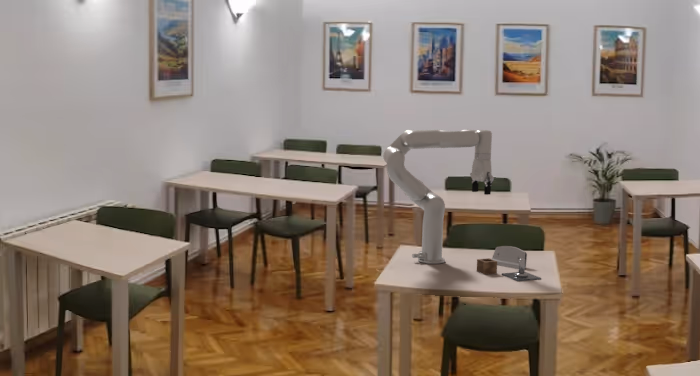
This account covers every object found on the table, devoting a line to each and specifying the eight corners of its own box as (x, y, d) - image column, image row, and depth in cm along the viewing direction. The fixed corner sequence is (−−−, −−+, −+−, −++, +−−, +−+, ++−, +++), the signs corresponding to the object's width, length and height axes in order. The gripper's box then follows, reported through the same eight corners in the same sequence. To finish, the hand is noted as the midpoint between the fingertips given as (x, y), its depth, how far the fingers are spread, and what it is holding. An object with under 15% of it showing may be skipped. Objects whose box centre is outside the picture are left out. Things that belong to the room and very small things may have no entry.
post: (517, 281, 339) (518, 262, 338) (501, 274, 350) (502, 257, 349) (540, 279, 344) (541, 261, 343) (524, 272, 355) (525, 255, 354)
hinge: (489, 263, 372) (493, 242, 373) (493, 265, 375) (498, 244, 377) (521, 269, 361) (525, 248, 363) (525, 271, 365) (530, 250, 366)
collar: (484, 274, 350) (484, 262, 349) (476, 271, 356) (477, 259, 355) (496, 273, 353) (497, 261, 352) (488, 270, 358) (489, 258, 358)
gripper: (465, 155, 376) (464, 190, 378) (487, 158, 361) (485, 195, 363) (478, 154, 379) (477, 190, 382) (500, 158, 364) (498, 195, 366)
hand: (481, 193), depth 372 cm, fingers open, 9 cm apart
